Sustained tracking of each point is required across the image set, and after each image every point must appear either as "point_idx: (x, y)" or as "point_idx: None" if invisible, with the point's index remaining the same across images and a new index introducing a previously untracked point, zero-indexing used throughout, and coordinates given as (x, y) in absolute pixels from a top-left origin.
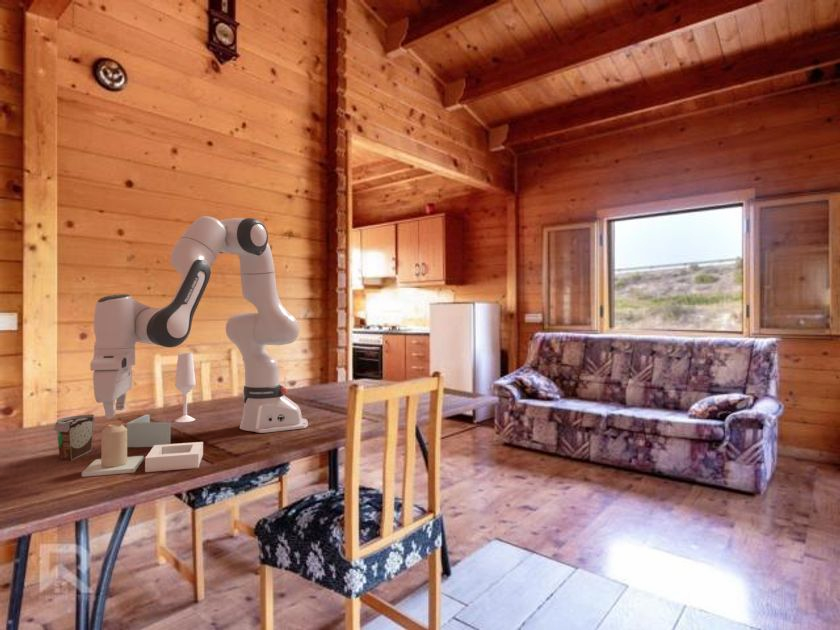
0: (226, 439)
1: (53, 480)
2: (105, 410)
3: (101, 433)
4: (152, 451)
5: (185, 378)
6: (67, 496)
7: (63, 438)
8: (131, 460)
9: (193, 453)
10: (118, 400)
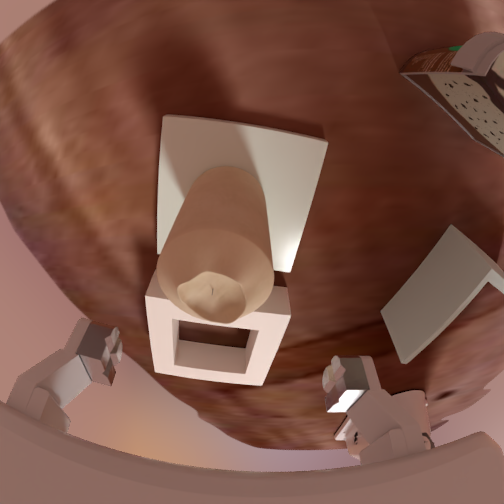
0: None
1: (165, 40)
2: (54, 355)
3: (203, 223)
4: None
5: None
6: (27, 128)
7: (453, 52)
8: None
9: (161, 367)
10: (373, 409)
